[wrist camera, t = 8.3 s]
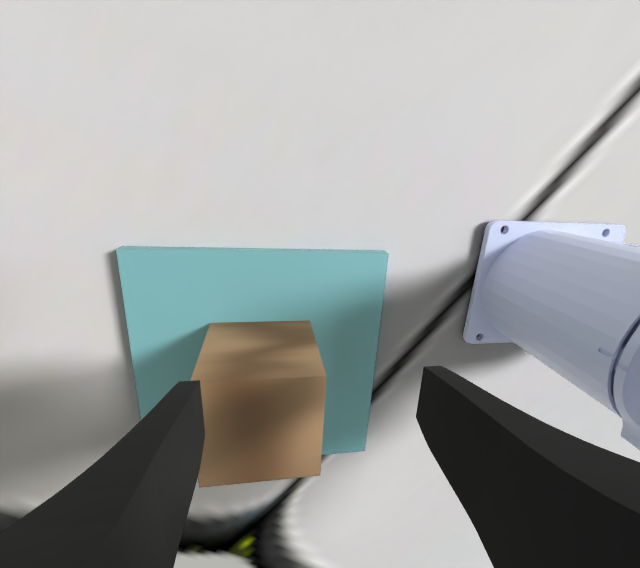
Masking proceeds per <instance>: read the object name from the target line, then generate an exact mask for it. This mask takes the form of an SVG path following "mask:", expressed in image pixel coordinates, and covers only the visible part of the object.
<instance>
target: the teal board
mask: <svg viewBox="0 0 640 568" xmlns="http://www.w3.org/2000/svg"><path fill="white" fill-rule="evenodd" d="M116 253H117V260H118V267H119V273H120V280H121V287H122V294H123V301H124V308H125V315H126V322H127V328H128V335H129V342H130V349H131V356H132V363H133V370H134V377H135V383H136V390H137V397H138V404H139V411H140V418H141V420H142V419H143V418H144V417H145V416H146V415H147V414H148V413H149V412H150V411H151V410H152V409H153V408H154V407H155V406H156V404H157V403H158V402H159V401H160V400H161V399H162V398H163V397H164V396H165V395H166V394H167V393H168V392H169V391H170V390H171V389H172V388H173V387H174V386H175V385H176V384H177V383H178V382H179V381H190V380H191V377H192V374H193V372H194V369H195V366H196V363H197V360H198V357H199V354H200V351H201V349H202V346H203V343H204V340H205V337H206V334H207V331H208V328H209V326H210V323H220V322H264V321H307V320H310V322H311V326H312V329H313V332H314V336H315V339H316V342H317V346H318V349H319V352H320V356H321V359H322V363H323V366H324V369H325V373H326V376H327V377H326V393H325V408H324V424H323V440H322V455H324V454H336V453H347V452H359V451H365V444H366V436H367V427H368V419H369V411H370V403H371V395H372V386H373V378H374V370H375V362H376V354H377V345H378V337H379V329H380V321H381V313H382V304H383V296H384V288H385V280H386V272H387V263H388V255H389V254H388V253H387V252H385V251H375V250H316V249H256V248H197V247H138V246H122V247H120V248H118V249H117V250H116Z"/></svg>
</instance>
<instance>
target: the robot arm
mask: <svg viewBox="0 0 640 568" xmlns="http://www.w3.org/2000/svg"><path fill="white" fill-rule="evenodd" d="M503 226H504V230H503V232H501V228H502V227H503ZM603 230H604V231H603ZM602 232H603V233H602ZM625 233H626V228H625V227H624V226H623V225H618V224H593V223H565V222H536V221H507V220H493V221H490V222H489V223H488V224H487V226H486V228H485V233H484V238H483V242H482V247H481V252H480V256H479V261H478V266H477V271H476V275H475V280H474V285H473V289H472V294H471V299H470V304H469V308H468V313H467V318H466V323H465V327H464V332H463V339H464V340H465V341H466V342H467V343H469V344H480V343H510V342H514V343H515V344H517V345H518V346H520V347H521V348H522V349H524V350H525V351H527V352H528V353H530V354H531V355H532V356H534V357H535V358H537V359H538V360H540V361H541V362H542V363H544V364H545V365H547V366H548V367H550V368H551V369H552V370H554V371H555V372H557V373H558V374H560V375H561V376H562V377H564V378H565V379H567V380H568V381H570V382H571V383H572V384H574V385H575V386H577V387H578V388H580V389H581V390H583V391H584V392H585V393H587V394H588V395H590V396H591V397H593V398H594V399H595V400H597V401H598V402H600V403H601V404H603V405H604V406H605V407H607V408H608V409H610V410H611V411H613V412H614V413H615V414H617V415H618V416H620V417H621V418H622V420H623V427H622V431H621V436H622V437H623V438H624V439H626V440H627V441H628V442H630V443H631V444H632V445H634V446H635V447H636V448H638V449H639V450H640V246H638V245H633V244H628V243H624V242H623V239H624V236H625ZM478 334H480V335H479V336H478V337H477V338H476V336H477V335H478ZM416 418H417V421H418V423H419V426H420V428H421V431H422V433H423V435H424V438H425V440H426V442H427V444H428V447H429V448H430V450H431V452H432V454H433V455H434V457H435V459H436V461H437V462H438V464H439V466H440V468H441V469H442V471H443V473H444V474H445V476H446V478H447V480H448V481H449V483H450V485H451V486H452V488H453V490H454V492H455V493H456V495H457V497H458V498H459V500H460V502H461V504H462V505H463V507H464V509H465V510H466V512H467V514H468V516H469V518H470V519H471V521H472V523H473V525H474V527H475V529H476V531H477V533H478V535H479V537H480V539H481V541H482V543H483V545H484V548H485V550H486V552H487V554H488V556H489V558H490V560H491V562H492V564H493V567H494V568H640V462H637V461H634V460H632V459H629V458H626V457H624V456H621V455H619V454H616V453H613V452H611V451H608V450H606V449H603V448H600V447H598V446H595V445H593V444H591V443H588V442H586V441H583V440H581V439H579V438H577V437H574V436H572V435H570V434H568V433H565V432H563V431H561V430H559V429H557V428H554V427H552V426H550V425H548V424H546V423H544V422H542V421H540V420H538V419H536V418H534V417H532V416H530V415H528V414H526V413H525V412H523V411H521V410H519V409H517V408H515V407H513V406H511V405H510V404H508V403H506V402H504V401H502V400H501V399H499V398H497V397H495V396H494V395H492V394H490V393H488V392H487V391H485V390H483V389H481V388H480V387H478V386H476V385H475V384H473V383H471V382H470V381H468V380H466V379H464V378H463V377H461V376H459V375H457V374H456V373H454V372H452V371H450V370H448V369H446V368H444V367H442V366H431V367H424V369H423V375H422V382H421V388H420V395H419V401H418V407H417V414H416ZM204 440H205V427H204V417H203V406H202V396H201V386H200V380H194V381H179V382H178V383H177V384H176V385H175V386H174V387H173V388H172V389H171V390H170V391H169V392H168V393H167V394H166V395H165V396H164V397H163V398H162V399H161V400H160V401H159V402H158V403H157V404H156V406H155V407H154V408H153V409H152V410H151V411H150V412H149V413H148V414H147V415H146V416H145V417H144V418H143V419H142V420H141V421H140V422H139V423H138V424H137V425H136V426H135V427H134V428H133V429H132V430H131V431H130V432H129V433H128V434H127V435H125V436H124V437H123V438H122V439H121V440H120V441H119V442H118V443H117V444H116V445H115V446H113V447H112V448H111V449H110V450H109V451H108V452H107V453H106V454H105V455H104V456H102V457H101V458H100V459H99V460H98V461H97V462H95V463H94V464H93V465H92V466H91V467H89V468H88V469H87V470H86V471H85V472H83V473H82V474H81V475H80V476H78V477H77V478H76V479H74V480H73V481H72V482H71V483H69V484H68V485H67V486H66V487H64V488H63V489H62V490H60V491H59V492H58V493H56V494H55V495H54V496H52V497H51V498H49V499H48V500H47V501H45V502H44V503H42V504H41V505H40V506H38V507H37V508H35V509H34V510H33V511H31V512H30V513H28V514H27V515H25V516H24V517H23V518H21V519H20V520H18V521H17V522H16V523H14V524H13V525H11V526H10V527H8V528H7V529H6V530H4V531H3V532H1V533H0V568H173V567H174V563H175V558H176V554H177V550H178V547H179V543H180V539H181V536H182V532H183V529H184V525H185V521H186V518H187V514H188V511H189V507H190V503H191V500H192V496H193V492H194V489H195V485H196V481H197V478H198V474H199V470H200V465H201V459H202V453H203V446H204Z"/></svg>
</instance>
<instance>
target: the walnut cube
mask: <svg viewBox="0 0 640 568" xmlns="http://www.w3.org/2000/svg"><path fill="white" fill-rule="evenodd" d="M326 377H327V376H326V373H325V369H324V366H323V363H322V359H321V356H320V352H319V349H318V346H317V342H316V339H315V336H314V332H313V329H312V326H311V322H310V320H307V321H264V322H220V323H210V326H209V328H208V331H207V334H206V337H205V340H204V343H203V346H202V349H201V351H200V354H199V357H198V360H197V363H196V366H195V369H194V372H193V374H192V377H191V380H190V381H194V380H200V386H201V396H202V406H203V417H204V427H205V440H204V446H203V453H202V459H201V465H200V470H199V474H198V482H199V488H200V487H210V486H220V485H230V484H240V483H250V482H260V481H270V480H280V479H289V478H299V477H309V476H319V475H320V471H321V456H322V440H323V424H324V408H325V393H326Z"/></svg>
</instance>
